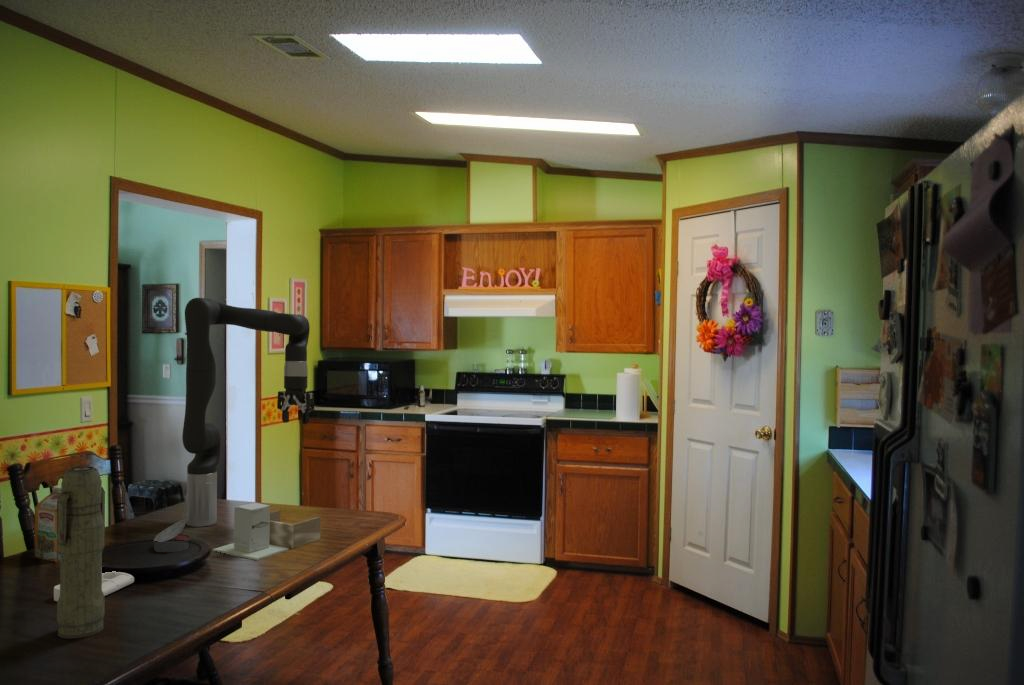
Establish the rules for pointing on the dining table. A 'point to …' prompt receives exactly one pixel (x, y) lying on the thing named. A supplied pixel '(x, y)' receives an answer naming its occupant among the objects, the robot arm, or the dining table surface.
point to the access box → (293, 531)
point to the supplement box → (251, 527)
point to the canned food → (172, 532)
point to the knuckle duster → (107, 583)
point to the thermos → (80, 553)
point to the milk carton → (47, 527)
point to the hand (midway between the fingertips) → (295, 423)
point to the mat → (252, 555)
